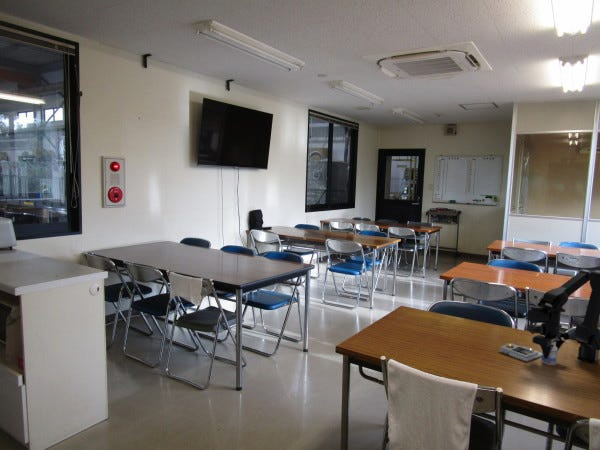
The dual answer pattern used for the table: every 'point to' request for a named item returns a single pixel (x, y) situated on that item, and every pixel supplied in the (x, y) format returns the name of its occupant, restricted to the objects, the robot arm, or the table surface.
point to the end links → (515, 349)
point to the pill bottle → (551, 355)
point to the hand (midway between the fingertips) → (549, 357)
